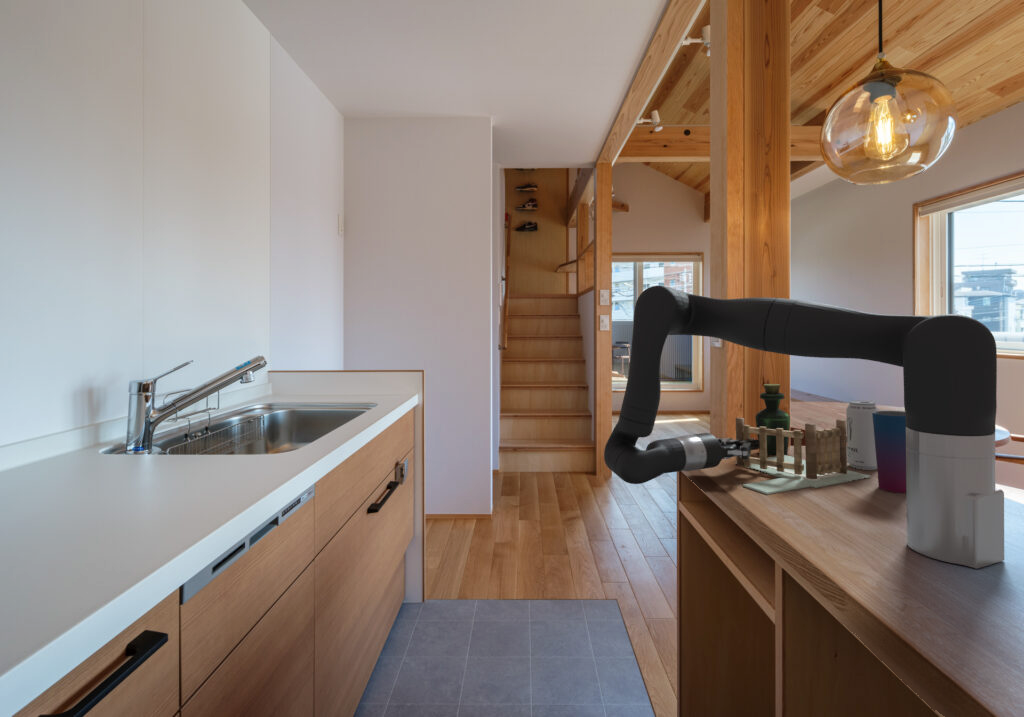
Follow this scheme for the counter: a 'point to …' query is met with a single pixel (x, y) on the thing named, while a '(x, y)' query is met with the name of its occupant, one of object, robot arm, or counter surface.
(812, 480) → the board
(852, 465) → the energy drink can
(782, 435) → the swing panel
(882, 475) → the cup
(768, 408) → the potion bottle
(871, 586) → the counter surface
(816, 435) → the fixed fence panel
